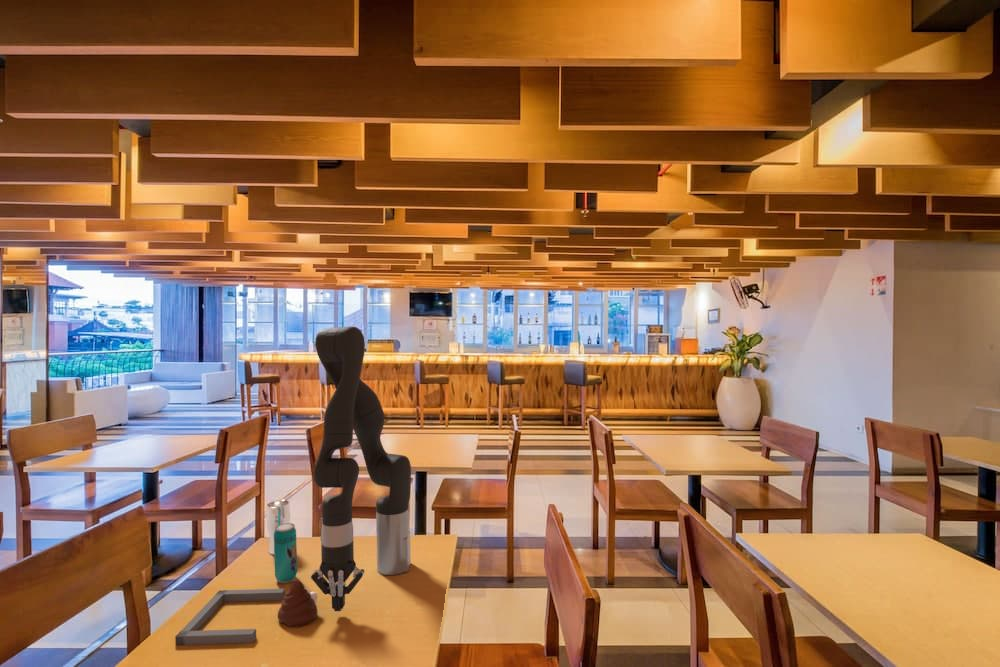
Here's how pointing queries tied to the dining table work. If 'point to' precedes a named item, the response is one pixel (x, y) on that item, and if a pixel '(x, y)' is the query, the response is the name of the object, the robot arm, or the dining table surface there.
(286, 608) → the poop emoji
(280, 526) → the beverage can
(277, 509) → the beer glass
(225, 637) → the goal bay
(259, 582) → the dining table surface
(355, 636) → the dining table surface
